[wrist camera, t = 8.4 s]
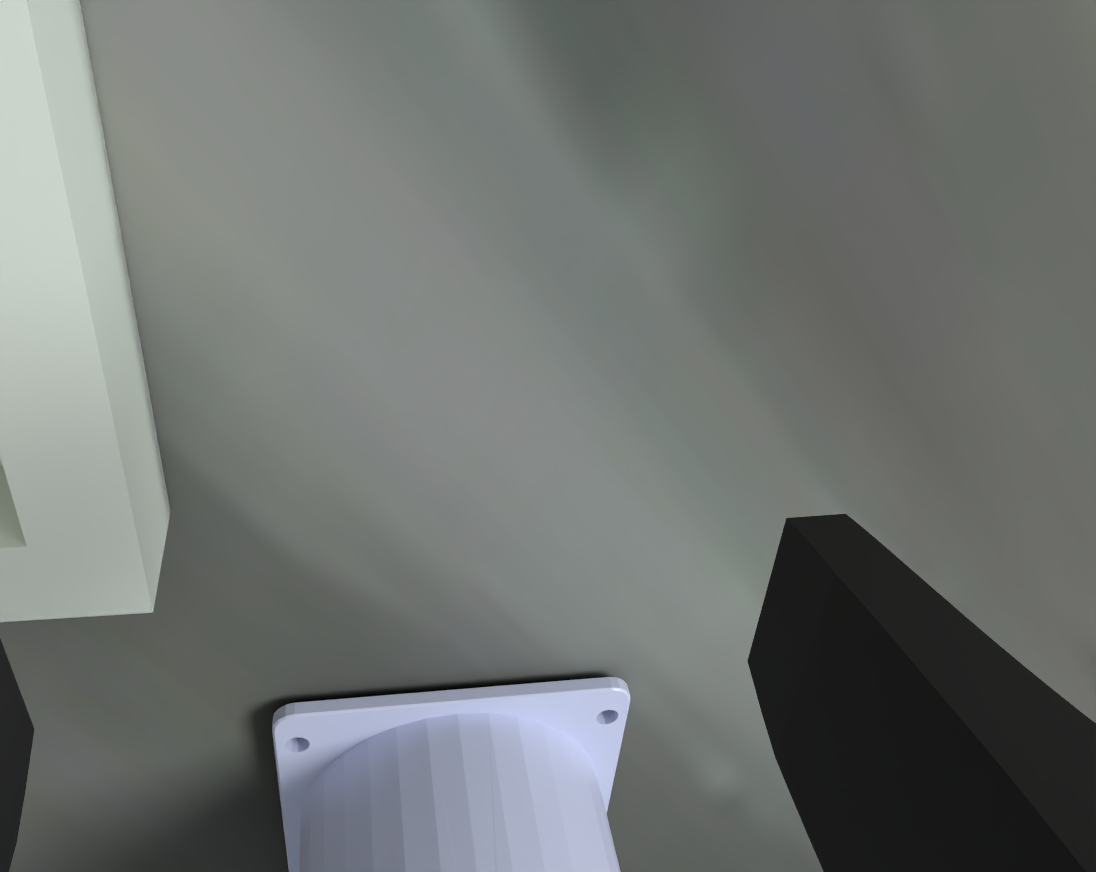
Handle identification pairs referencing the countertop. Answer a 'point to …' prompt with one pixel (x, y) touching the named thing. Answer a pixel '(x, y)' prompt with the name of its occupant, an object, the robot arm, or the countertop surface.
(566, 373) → the countertop surface
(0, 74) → the tray
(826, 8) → the countertop surface
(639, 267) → the countertop surface
